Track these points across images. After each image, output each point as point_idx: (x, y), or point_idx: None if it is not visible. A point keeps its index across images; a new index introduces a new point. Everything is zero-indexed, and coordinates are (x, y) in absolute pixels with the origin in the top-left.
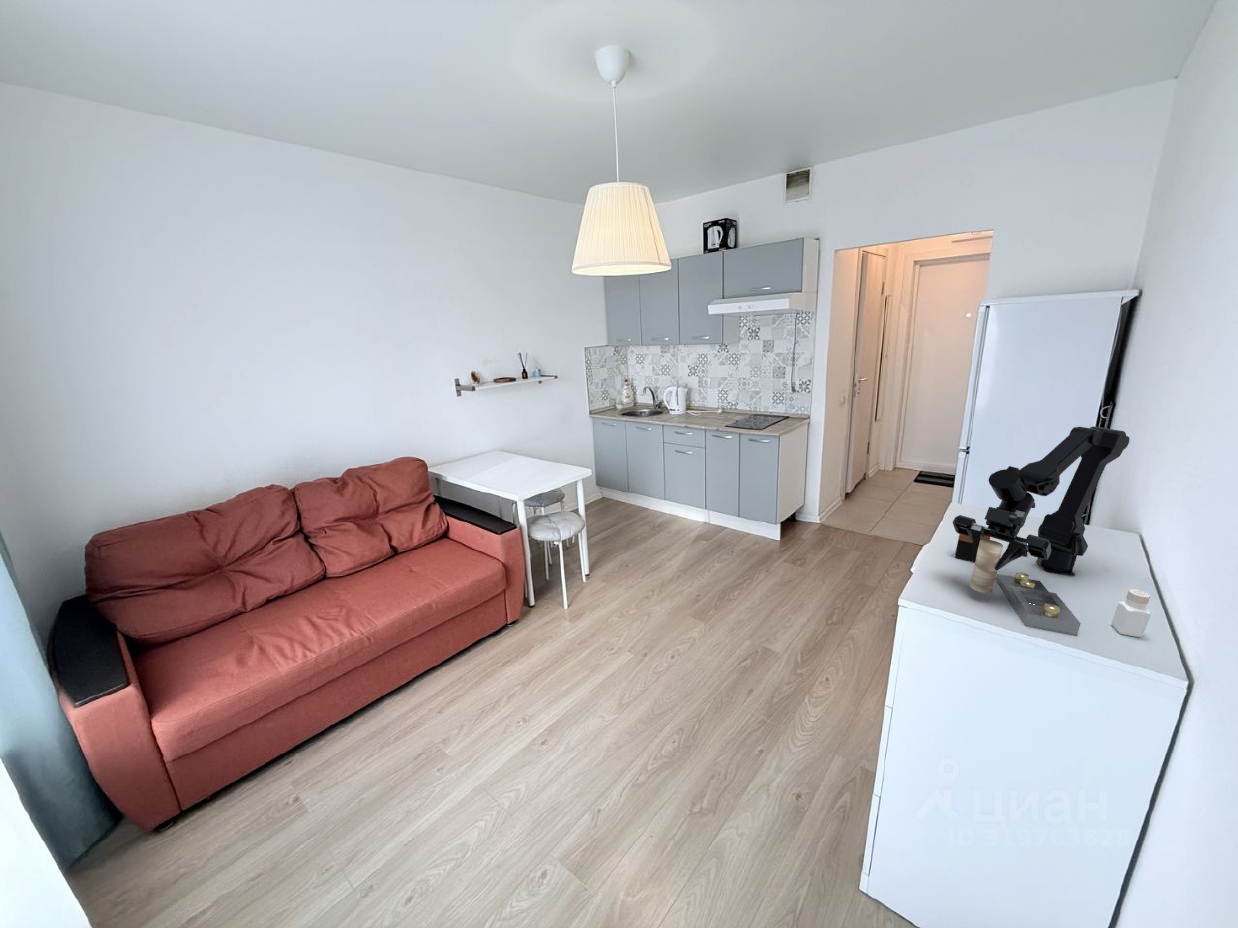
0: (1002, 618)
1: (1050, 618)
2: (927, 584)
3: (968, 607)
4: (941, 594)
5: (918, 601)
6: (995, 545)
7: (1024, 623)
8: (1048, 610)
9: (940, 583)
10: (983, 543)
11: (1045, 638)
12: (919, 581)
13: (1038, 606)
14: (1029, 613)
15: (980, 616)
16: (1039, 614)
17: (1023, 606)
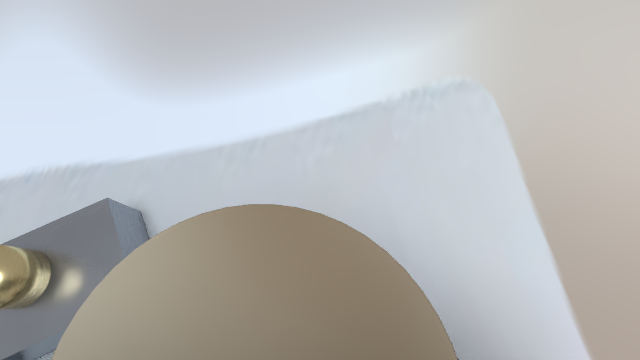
0: (211, 204)
1: (29, 232)
2: (519, 273)
3: (324, 193)
4: (436, 221)
5: (466, 96)
6: (164, 355)
7: (141, 221)
8: (15, 247)
9: (487, 338)
10: (365, 282)
11: (84, 172)
12: (557, 275)
13: (63, 316)
14: (103, 205)
15: (275, 157)
16: (66, 228)
17: (124, 256)
